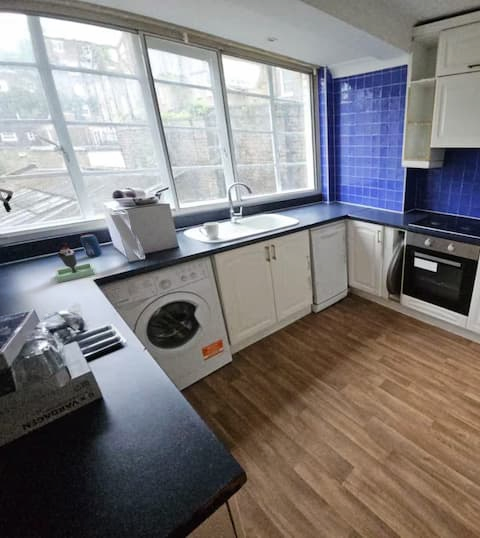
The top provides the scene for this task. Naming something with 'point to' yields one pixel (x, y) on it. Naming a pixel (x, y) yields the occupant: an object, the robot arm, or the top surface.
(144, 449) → the top surface
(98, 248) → the soda can
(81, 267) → the tray
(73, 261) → the sundae
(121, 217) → the skyscraper
